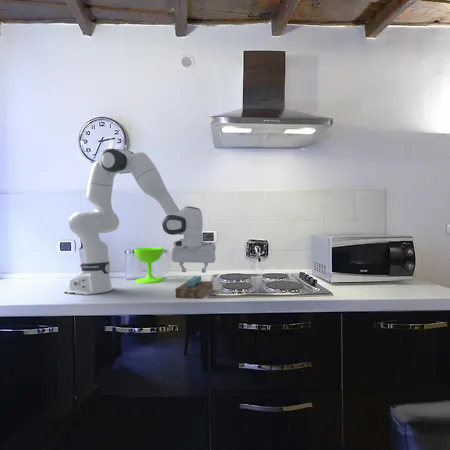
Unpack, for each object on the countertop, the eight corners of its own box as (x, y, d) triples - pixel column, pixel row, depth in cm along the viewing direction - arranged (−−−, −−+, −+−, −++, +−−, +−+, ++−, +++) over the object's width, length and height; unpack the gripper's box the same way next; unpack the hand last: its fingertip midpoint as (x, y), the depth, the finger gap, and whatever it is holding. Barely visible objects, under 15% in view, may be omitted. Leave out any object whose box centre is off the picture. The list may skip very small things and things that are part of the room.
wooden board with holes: (175, 297, 155) (175, 288, 155) (188, 289, 172) (188, 281, 172) (202, 298, 152) (202, 289, 152) (212, 289, 170) (212, 281, 170)
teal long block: (187, 296, 157) (187, 280, 157) (195, 290, 168) (194, 276, 168) (193, 296, 156) (193, 280, 156) (201, 290, 168) (201, 276, 168)
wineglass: (161, 283, 190) (160, 249, 190) (131, 284, 190) (130, 250, 189) (166, 278, 206) (165, 247, 206) (138, 278, 206) (137, 247, 205)
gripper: (217, 241, 163) (217, 271, 163) (174, 241, 167) (175, 270, 168) (213, 242, 157) (214, 273, 157) (170, 242, 161) (170, 272, 161)
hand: (193, 272), depth 162 cm, fingers open, 8 cm apart
